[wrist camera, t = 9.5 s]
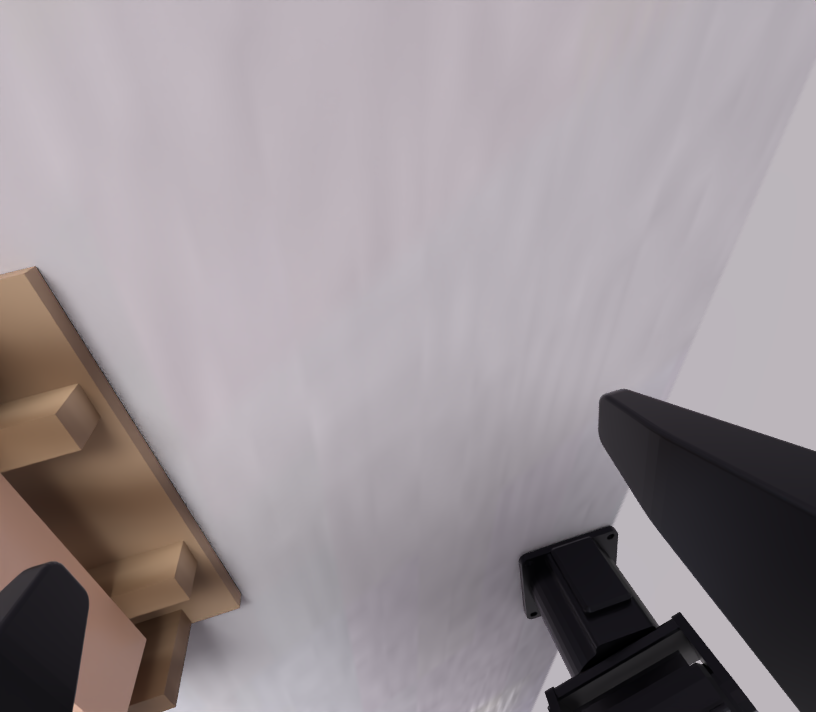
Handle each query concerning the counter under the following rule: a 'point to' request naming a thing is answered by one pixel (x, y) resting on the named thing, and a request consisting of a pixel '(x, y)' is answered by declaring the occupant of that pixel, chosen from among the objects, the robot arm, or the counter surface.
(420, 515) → the counter surface
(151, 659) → the rack
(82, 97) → the counter surface
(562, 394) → the counter surface
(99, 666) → the long rectangular block
